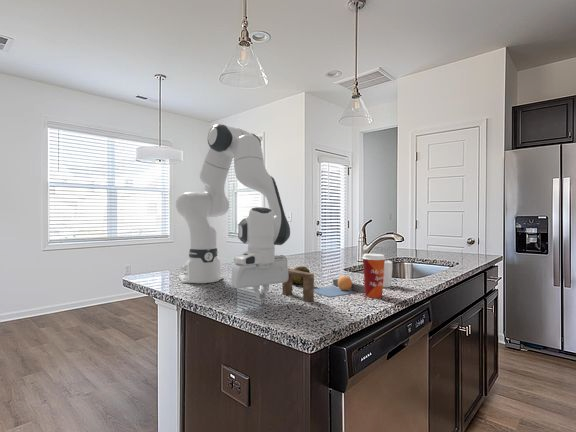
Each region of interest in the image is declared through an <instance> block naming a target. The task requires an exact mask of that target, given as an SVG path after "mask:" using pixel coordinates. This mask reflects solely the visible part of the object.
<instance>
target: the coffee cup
mask: <svg viewBox="0 0 576 432" xmlns="http://www.w3.org/2000/svg"><path fill="white" fill-rule="evenodd" d="M362 261H363V263H362V265H363V281H364V282H363V283H364V284H363V285H365V293H364V296H365V297H367V298H370V299H380V298H381V299H382V297H383V292H384V290H383V289H384V287H383V278H384V261H386V257H385V255H384V253H364V254H363V255H362Z"/></svg>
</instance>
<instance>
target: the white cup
mask: <svg viewBox="0 0 576 432" xmlns="http://www.w3.org/2000/svg"><path fill="white" fill-rule="evenodd" d="M393 264H394V263H393V261H390V260H385V261H384V278H383V288H391V287H392V278H393Z"/></svg>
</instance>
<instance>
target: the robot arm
mask: <svg viewBox="0 0 576 432" xmlns="http://www.w3.org/2000/svg"><path fill="white" fill-rule="evenodd" d="M207 134H208V135H207V144H208V146H209V148H208V150H207V152H206V155H205V157H204V160H203V164H202V166H201V170H200V172H199V179H200V181H201V182H202V183H203V185H204V190H203V192H202V191H187V192H182V193H180V194H179V195H178V196H177V198H176V202H175V208H176V211H177V212H178V214H179V215H181V216H182V218H184V220H185V221H186V223H187V226H188V229H189V236H190V239H189V240H190V249H189V251H188V259H187V260H186V262H185V263H184V264H183V265H182V266H181V267H180V271H181V272H183V273H182V274H179V275H178V279H179V281H180V282H181V283H183V284H184V283H185V284H188V283H189V284H190V283H191V284H207V283H215V282H219V281H220V280H222V279H224V275H222V272H221V271H222V270H221V261H220V260H219V258H218V247H217V231H216V229H215V228H214V227H212V226H211V225H210V223H209V221H208V218H218V217H220V216H221V217H222V216H224V215H226V214H227V213H228V211H229V208H230V203H229V202H230V201H229V200H228V197H227V196H226V193H225V187H226V186H225V184H226V181H227V178H228V174H229V171H230V168H231V164H232V161H233V164H234V167H233V168H234V174H235V177H236V179H237V181H238V182H239V183H240V184H241V185H243V186H245V187H246V188H249V189H252V190H253V191H256V192H258V193H260V194H262V195H263V196H265V198H266V201H267V204H268V207H257V206H256V207H253V208H250V209H249V212H248V216H247V217H245V218H243V219H241V221H240V222H239V223H238V224H237V225H238V227H237V229H238V231H237V232H238V233H237V234H238V237H237V238H238V239H239V240H240V242H242V243H243V244H245V245H247V250H246V251H244V252H242V253H240V254H237V255H235V256H234V257H233V262H234V263H235V264H234V265H233V266H232V269H231V279H230V280H231V281H230V282H231V286H232V287H233V288H236V289H238V290H239V289H245V288H252V290H253V291H254V293H255V299H256V300H263V299H264V300H265V299H267V293H268V291H269V289H270V285H274V284H283V282H287V281H288V279H289V275H288V259H287V258H288V257H286V256H285V255H283V254H279V255H275V252H276V251H275V250H276V248H275V247H276V246H282V245H284V244H285V243H286V242H288V240H289V239H290V237H291V228H290V227H291V226H290V224H289V221H288V219H287V216H286V213H285V211H284V206H283V203H282V199H281V195H280V193H279V189H278V185H277V182H276V180H275V178H274V177H273V176H272V175H270V174H269V172H268V170H267V169H266V167H265V162H264V155H263V150H262V143H261V142H262V141H261V139H260V137H259V136H258V135H256V134H255V133H252V132H249V131H246V130H245V129H242V128H238V127H234V126H227V125H225V124H219V123H218V124H214V125H213V126H212V127H211V128H210V129H209V131H208V133H207ZM261 286H262V291H261V292H260V289H261Z"/></svg>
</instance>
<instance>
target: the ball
mask: <svg viewBox="0 0 576 432" xmlns="http://www.w3.org/2000/svg"><path fill="white" fill-rule="evenodd" d="M338 279H339V280H338V286H337V287H338V288H340V289H341V290H344V291H346V290H349V291H350V288H351V286H352V279H351V278H350V277H348V276H347V275H346V276H345V275H343V276H341V277H339V278H338Z"/></svg>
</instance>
